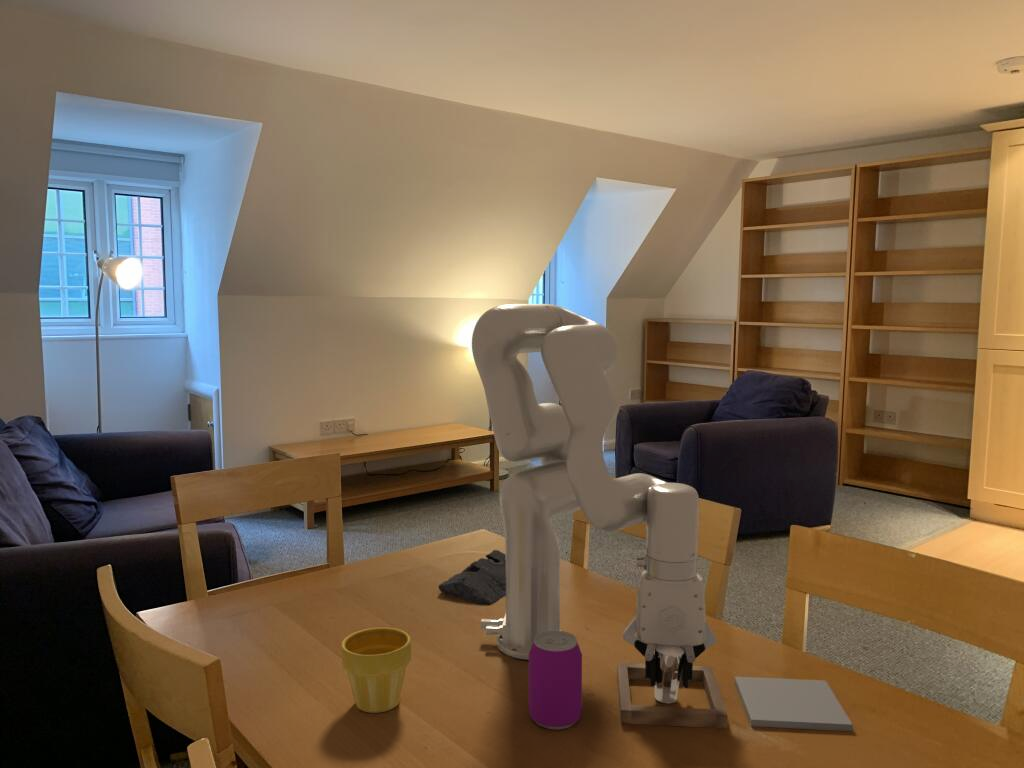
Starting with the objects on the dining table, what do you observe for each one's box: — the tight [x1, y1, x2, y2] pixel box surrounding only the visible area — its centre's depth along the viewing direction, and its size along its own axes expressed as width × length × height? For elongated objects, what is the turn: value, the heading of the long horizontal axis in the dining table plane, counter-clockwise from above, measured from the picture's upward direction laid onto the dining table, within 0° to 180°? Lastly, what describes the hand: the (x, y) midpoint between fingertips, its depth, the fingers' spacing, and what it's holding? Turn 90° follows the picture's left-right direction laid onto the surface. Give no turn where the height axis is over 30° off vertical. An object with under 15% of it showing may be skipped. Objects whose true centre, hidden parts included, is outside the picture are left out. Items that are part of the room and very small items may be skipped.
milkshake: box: [654, 645, 685, 705], centre depth 120 cm, size 5×5×10 cm
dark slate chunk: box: [438, 549, 506, 606], centre depth 170 cm, size 15×22×5 cm
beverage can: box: [528, 630, 583, 730], centre depth 115 cm, size 8×8×12 cm
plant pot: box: [340, 627, 412, 714], centre depth 119 cm, size 10×10×10 cm
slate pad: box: [734, 676, 854, 732], centre depth 119 cm, size 14×13×1 cm
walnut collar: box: [616, 662, 729, 729], centre depth 121 cm, size 15×15×2 cm
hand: (668, 681), depth 120 cm, fingers closed on milkshake, 4 cm apart
